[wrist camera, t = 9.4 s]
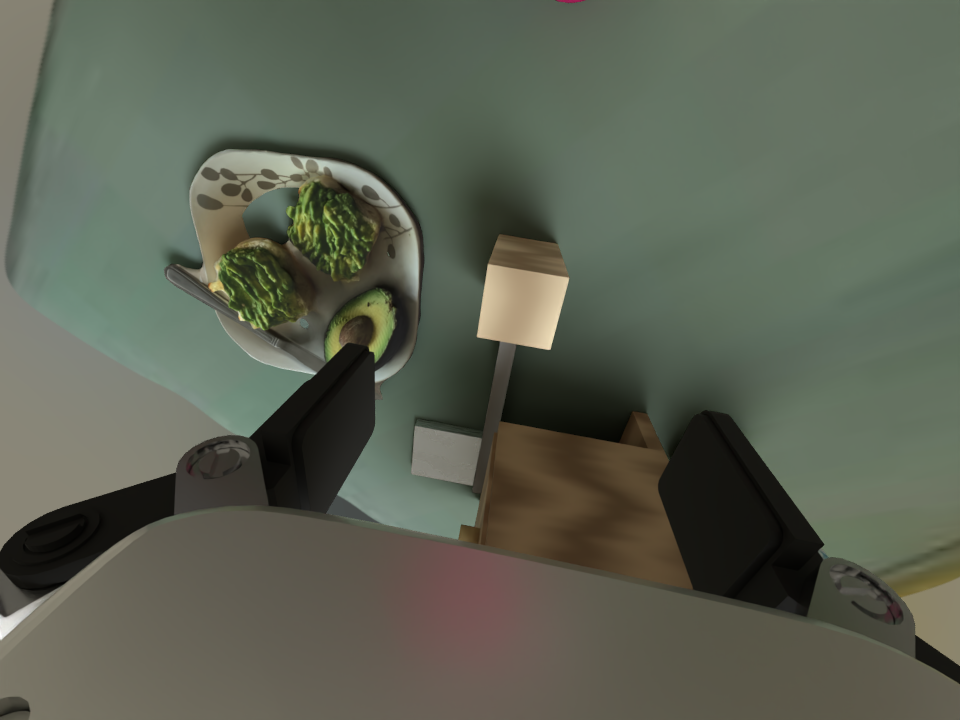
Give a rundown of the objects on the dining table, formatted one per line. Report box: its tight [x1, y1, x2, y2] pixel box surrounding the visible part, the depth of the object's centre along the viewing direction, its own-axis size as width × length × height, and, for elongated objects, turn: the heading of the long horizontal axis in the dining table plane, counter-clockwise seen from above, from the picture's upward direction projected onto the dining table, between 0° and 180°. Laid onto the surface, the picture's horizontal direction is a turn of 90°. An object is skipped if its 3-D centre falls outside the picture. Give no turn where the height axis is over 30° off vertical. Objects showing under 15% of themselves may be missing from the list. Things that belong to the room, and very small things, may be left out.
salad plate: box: [164, 149, 424, 400], centre depth 27 cm, size 19×18×5 cm
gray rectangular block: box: [411, 419, 483, 486], centre depth 35 cm, size 6×6×2 cm
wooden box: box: [458, 411, 693, 590], centre depth 27 cm, size 13×14×16 cm
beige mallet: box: [472, 234, 569, 494], centre depth 27 cm, size 4×23×8 cm, turn 172°
